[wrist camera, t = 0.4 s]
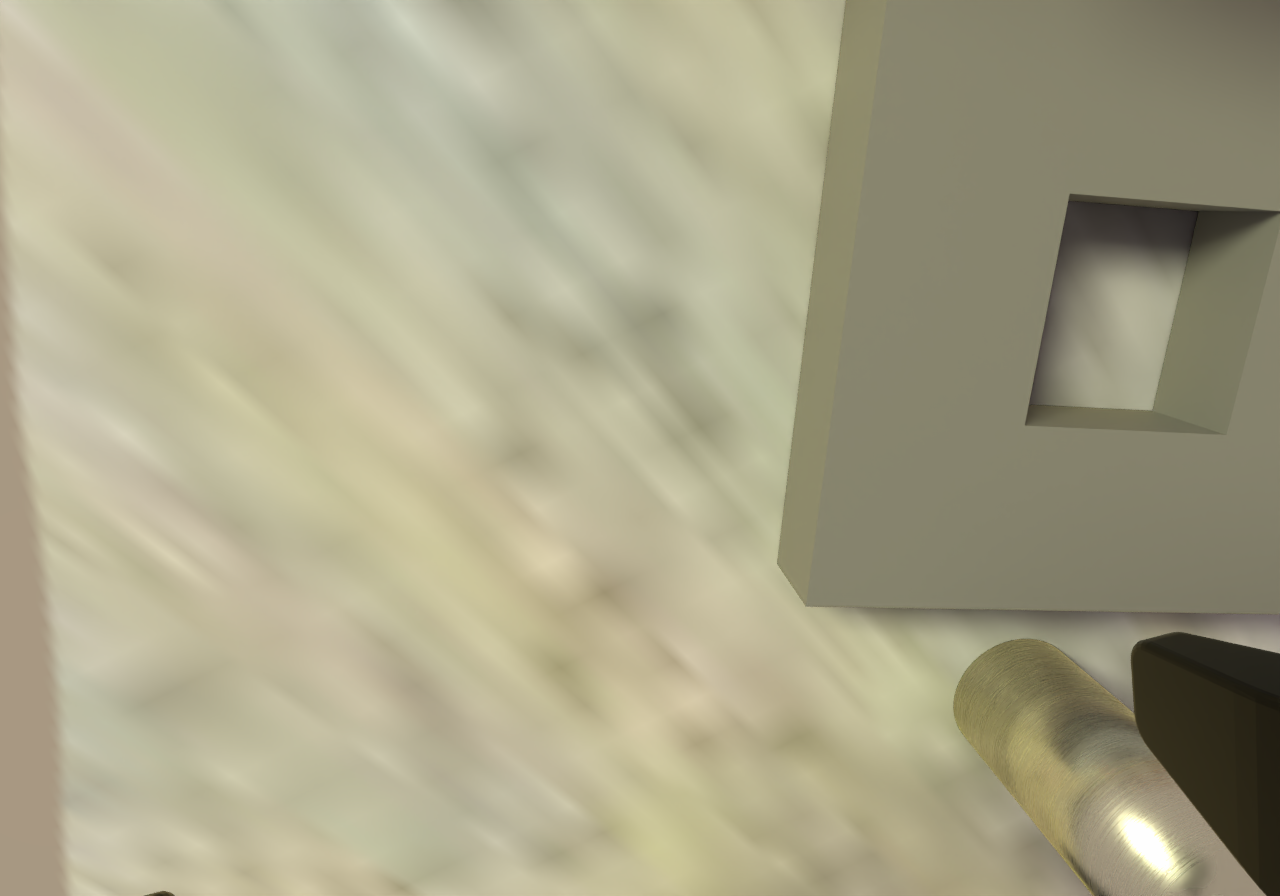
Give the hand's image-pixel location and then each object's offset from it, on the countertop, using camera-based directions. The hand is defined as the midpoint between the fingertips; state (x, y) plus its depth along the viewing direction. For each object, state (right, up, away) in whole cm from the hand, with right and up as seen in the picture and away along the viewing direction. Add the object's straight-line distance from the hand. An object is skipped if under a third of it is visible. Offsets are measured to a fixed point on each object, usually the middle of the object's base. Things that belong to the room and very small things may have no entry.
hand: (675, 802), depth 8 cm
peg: (+10, -4, +16) cm, 20 cm away
